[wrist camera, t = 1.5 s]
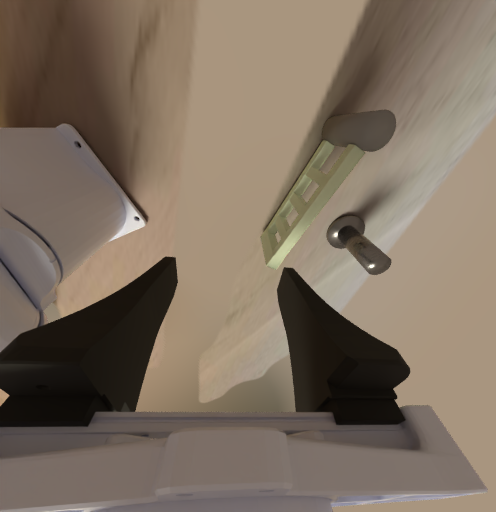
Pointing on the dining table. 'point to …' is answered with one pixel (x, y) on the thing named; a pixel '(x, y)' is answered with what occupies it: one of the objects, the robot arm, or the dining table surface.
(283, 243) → the gate
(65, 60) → the dining table surface
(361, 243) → the post
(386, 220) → the dining table surface
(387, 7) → the dining table surface
